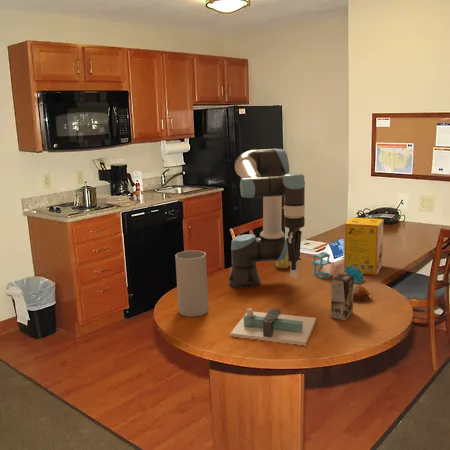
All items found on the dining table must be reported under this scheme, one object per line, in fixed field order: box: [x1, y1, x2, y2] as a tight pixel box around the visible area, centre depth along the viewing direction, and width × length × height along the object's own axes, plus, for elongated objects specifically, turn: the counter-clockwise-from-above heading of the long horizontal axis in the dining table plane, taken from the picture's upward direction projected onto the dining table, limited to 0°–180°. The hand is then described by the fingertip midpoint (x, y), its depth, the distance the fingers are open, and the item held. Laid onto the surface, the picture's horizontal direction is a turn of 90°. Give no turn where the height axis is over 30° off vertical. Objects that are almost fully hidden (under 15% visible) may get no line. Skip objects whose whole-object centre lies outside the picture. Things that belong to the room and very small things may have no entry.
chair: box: [311, 252, 333, 280], centre depth 254 cm, size 8×8×12 cm
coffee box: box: [330, 273, 355, 321], centre depth 204 cm, size 9×6×16 cm
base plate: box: [230, 311, 317, 347], centre depth 195 cm, size 28×22×2 cm
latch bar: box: [243, 307, 303, 332], centre depth 192 cm, size 22×5×6 cm, turn 69°
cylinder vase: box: [174, 250, 209, 318], centre depth 212 cm, size 12×12×25 cm
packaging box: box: [343, 216, 384, 276], centre depth 261 cm, size 16×16×25 cm
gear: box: [344, 265, 364, 285], centre depth 244 cm, size 11×6×10 cm
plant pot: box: [274, 251, 290, 269], centre depth 270 cm, size 10×10×10 cm
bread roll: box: [353, 283, 371, 303], centre depth 223 cm, size 10×10×8 cm
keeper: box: [263, 308, 282, 337], centre depth 190 cm, size 4×12×6 cm, turn 161°
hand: (294, 277), depth 192 cm, fingers closed
